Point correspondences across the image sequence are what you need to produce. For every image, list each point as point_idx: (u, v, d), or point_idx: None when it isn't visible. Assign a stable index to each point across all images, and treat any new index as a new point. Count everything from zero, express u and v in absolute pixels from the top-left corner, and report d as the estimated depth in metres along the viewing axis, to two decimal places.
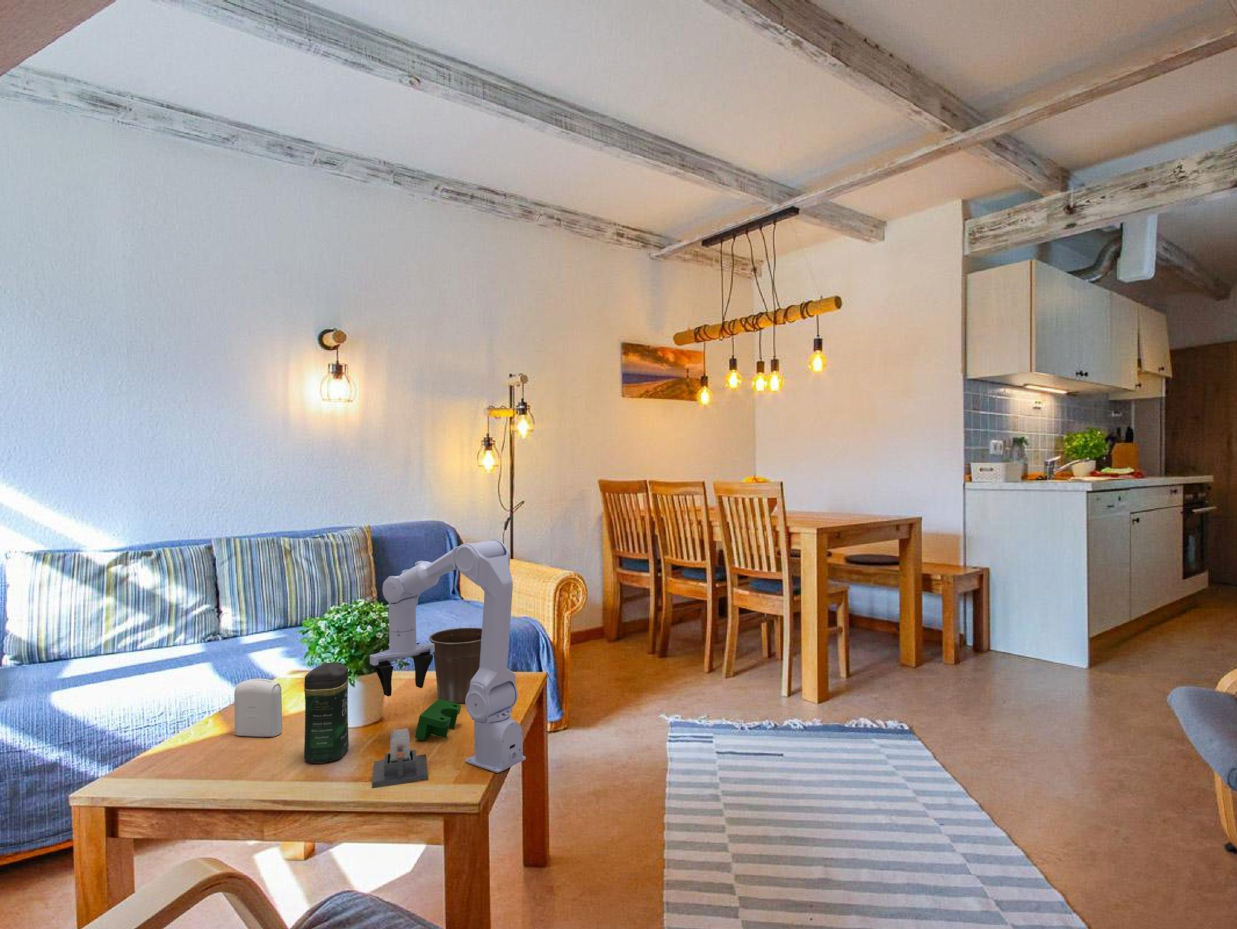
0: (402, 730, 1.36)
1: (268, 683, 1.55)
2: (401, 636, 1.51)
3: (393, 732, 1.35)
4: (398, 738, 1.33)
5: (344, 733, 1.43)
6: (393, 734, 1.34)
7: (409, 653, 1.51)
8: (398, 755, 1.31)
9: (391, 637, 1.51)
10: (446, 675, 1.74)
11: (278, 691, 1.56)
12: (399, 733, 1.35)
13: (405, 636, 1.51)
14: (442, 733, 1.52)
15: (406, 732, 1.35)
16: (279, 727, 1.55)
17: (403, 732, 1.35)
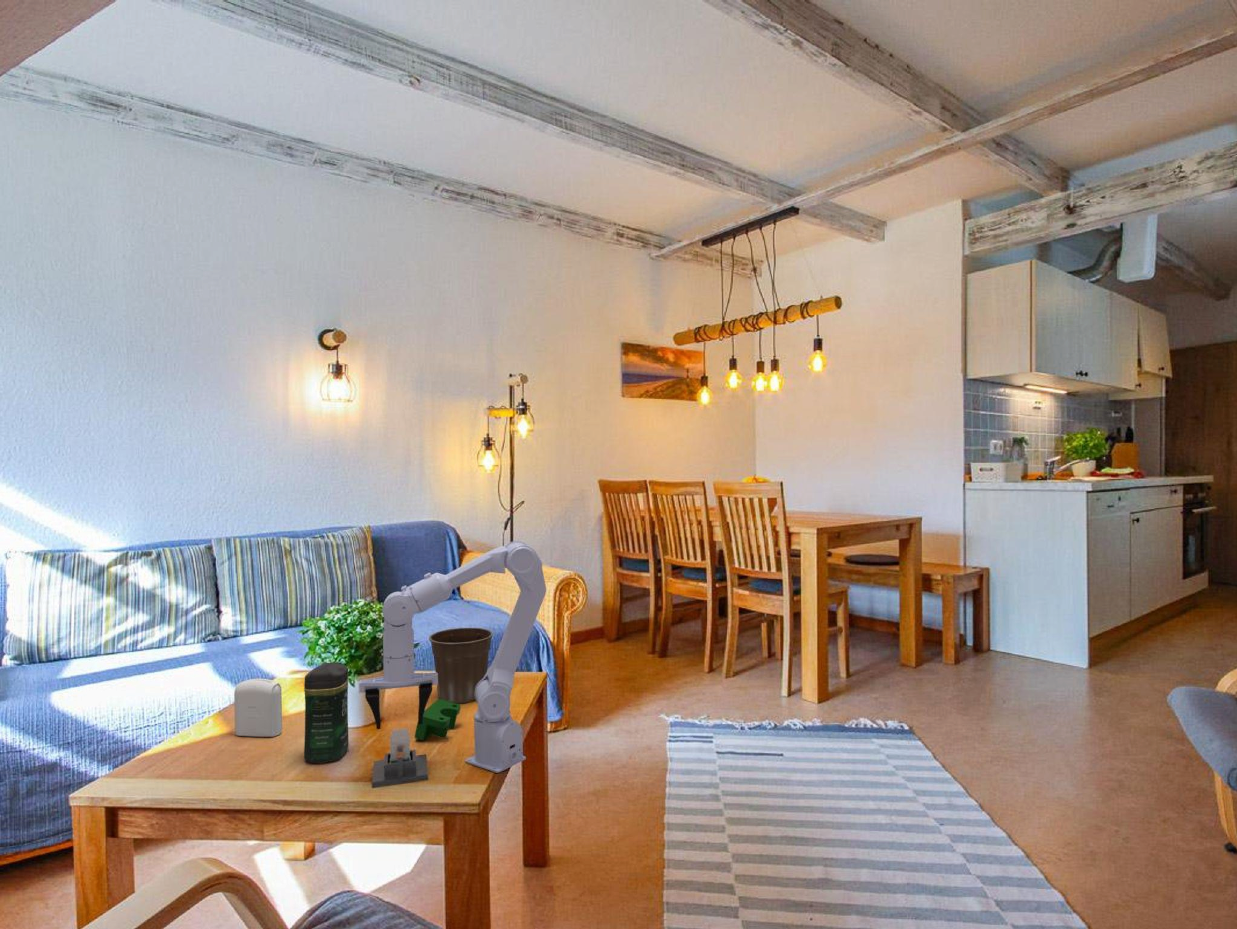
0: (402, 730, 1.36)
1: (268, 683, 1.55)
2: (390, 663, 1.32)
3: (393, 732, 1.35)
4: (398, 738, 1.33)
5: (344, 733, 1.43)
6: (393, 734, 1.34)
7: (398, 684, 1.32)
8: (398, 755, 1.31)
9: (383, 662, 1.34)
10: (446, 675, 1.74)
11: (278, 691, 1.56)
12: (399, 733, 1.35)
13: (394, 664, 1.32)
14: (442, 733, 1.52)
15: (406, 732, 1.35)
16: (279, 727, 1.55)
17: (403, 732, 1.35)
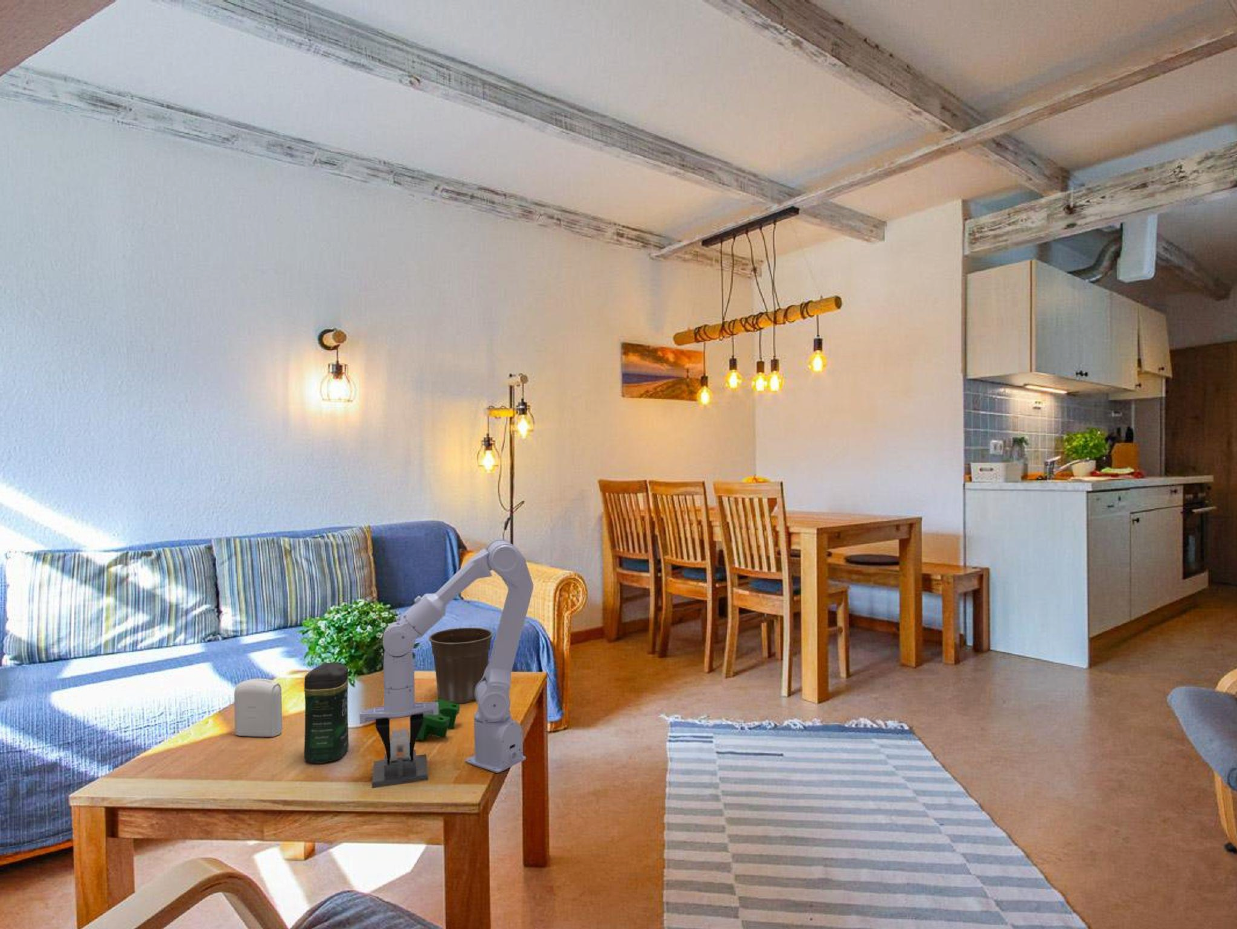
0: (402, 730, 1.36)
1: (268, 683, 1.55)
2: (390, 694, 1.32)
3: (393, 732, 1.35)
4: (398, 738, 1.33)
5: (344, 733, 1.43)
6: (393, 734, 1.34)
7: (399, 714, 1.32)
8: (398, 755, 1.31)
9: (384, 693, 1.34)
10: (446, 675, 1.74)
11: (278, 691, 1.56)
12: (399, 733, 1.35)
13: (394, 694, 1.32)
14: (441, 733, 1.52)
15: (406, 732, 1.35)
16: (279, 727, 1.55)
17: (403, 732, 1.35)
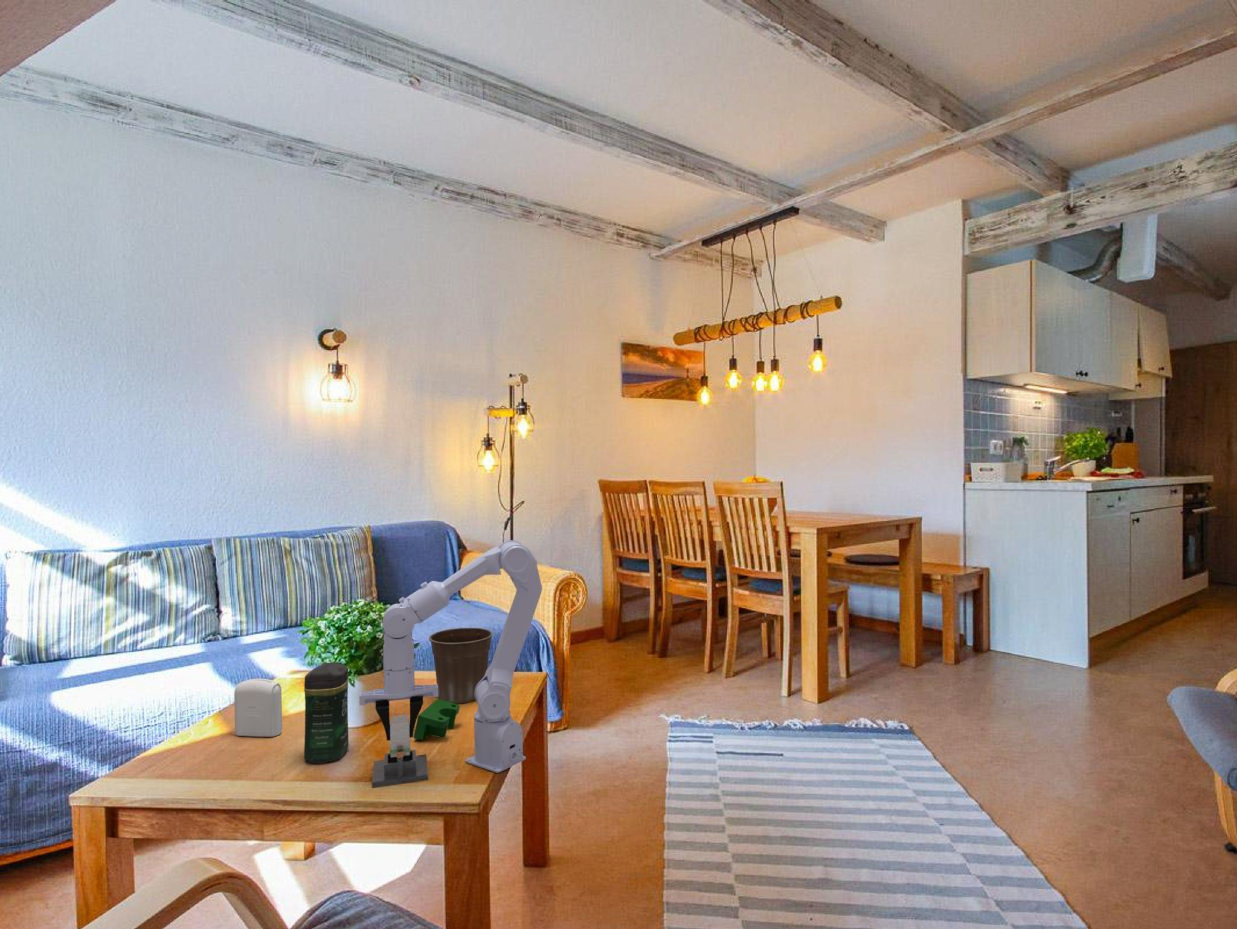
0: (402, 716, 1.36)
1: (268, 683, 1.55)
2: (390, 675, 1.32)
3: (393, 718, 1.35)
4: (398, 723, 1.33)
5: (344, 733, 1.43)
6: (393, 720, 1.34)
7: (398, 696, 1.32)
8: (398, 755, 1.31)
9: None
10: (446, 675, 1.74)
11: (278, 691, 1.56)
12: (399, 719, 1.35)
13: (394, 676, 1.32)
14: (441, 733, 1.52)
15: (406, 718, 1.35)
16: (279, 727, 1.55)
17: (403, 718, 1.35)
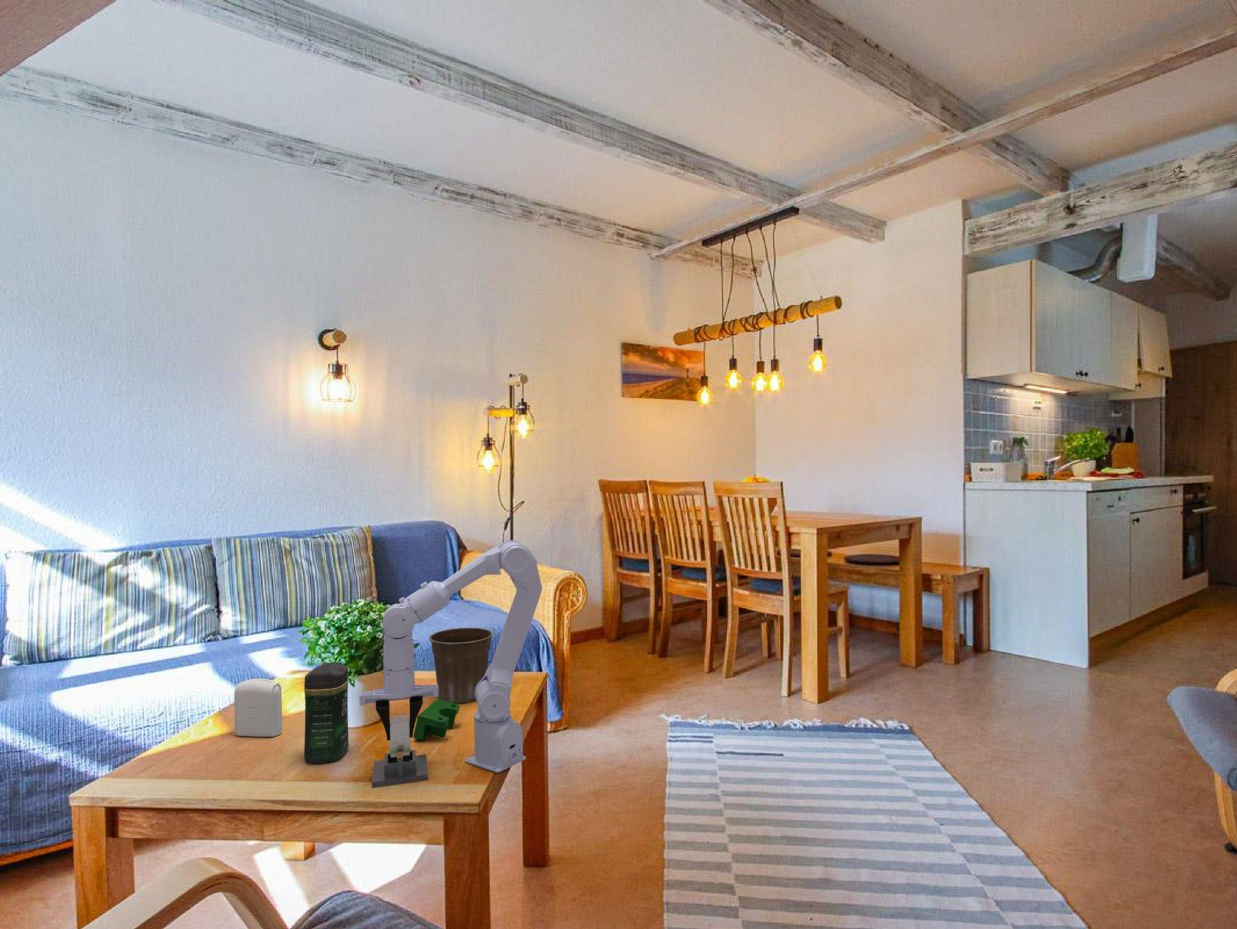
0: (402, 716, 1.36)
1: (268, 683, 1.55)
2: (390, 676, 1.32)
3: (393, 718, 1.35)
4: (398, 724, 1.33)
5: (344, 733, 1.43)
6: (393, 720, 1.34)
7: (398, 696, 1.32)
8: (398, 755, 1.31)
9: None
10: (446, 675, 1.74)
11: (278, 691, 1.56)
12: (399, 719, 1.35)
13: (394, 676, 1.32)
14: (440, 733, 1.52)
15: (406, 718, 1.35)
16: (279, 727, 1.55)
17: (403, 718, 1.35)
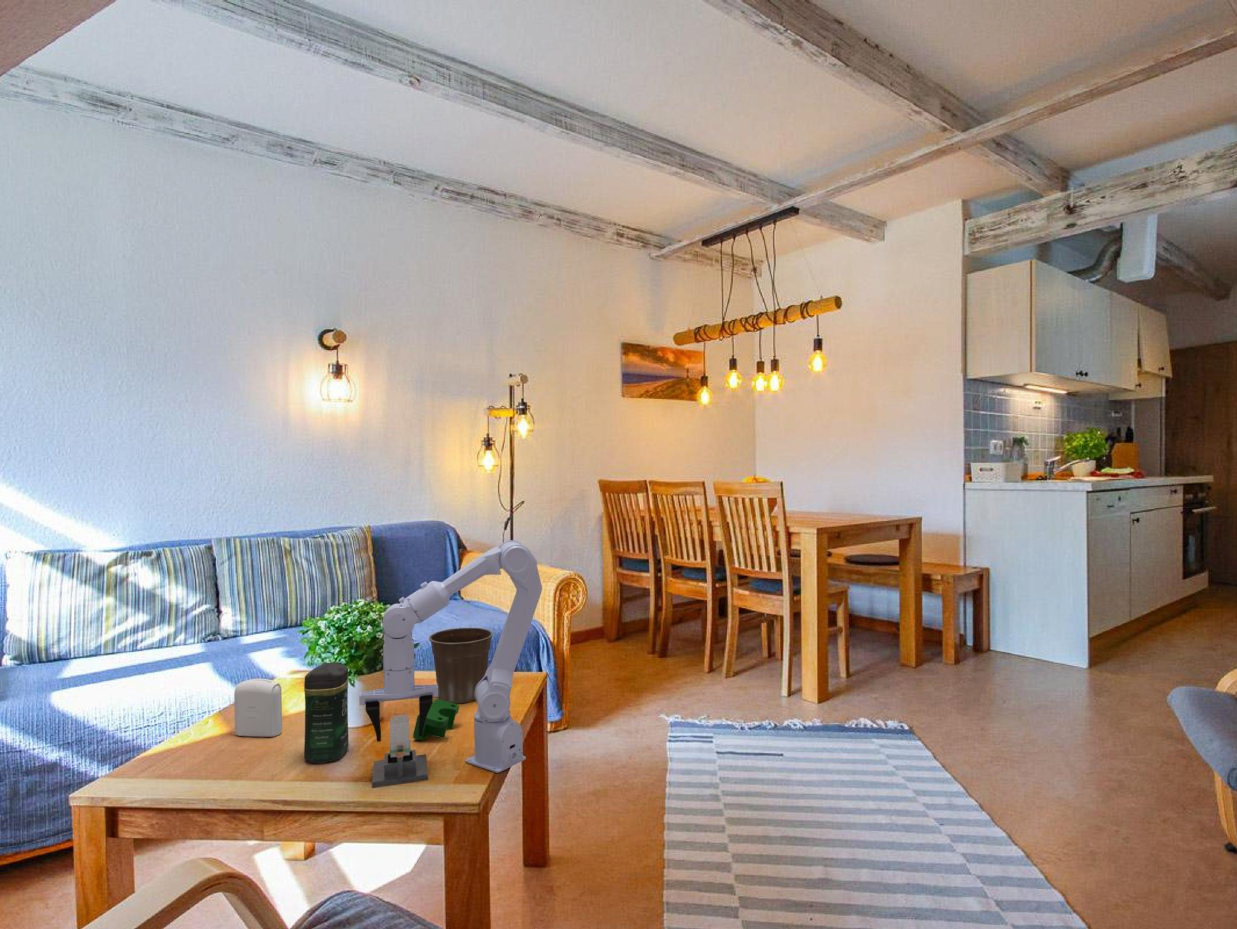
0: (402, 716, 1.36)
1: (268, 683, 1.55)
2: (390, 675, 1.32)
3: (393, 718, 1.35)
4: (398, 723, 1.33)
5: (344, 733, 1.43)
6: (393, 720, 1.34)
7: (398, 696, 1.32)
8: (398, 755, 1.31)
9: None
10: (446, 675, 1.74)
11: (278, 691, 1.56)
12: (399, 719, 1.35)
13: (394, 676, 1.32)
14: (440, 733, 1.52)
15: (406, 718, 1.35)
16: (279, 727, 1.55)
17: (403, 718, 1.35)
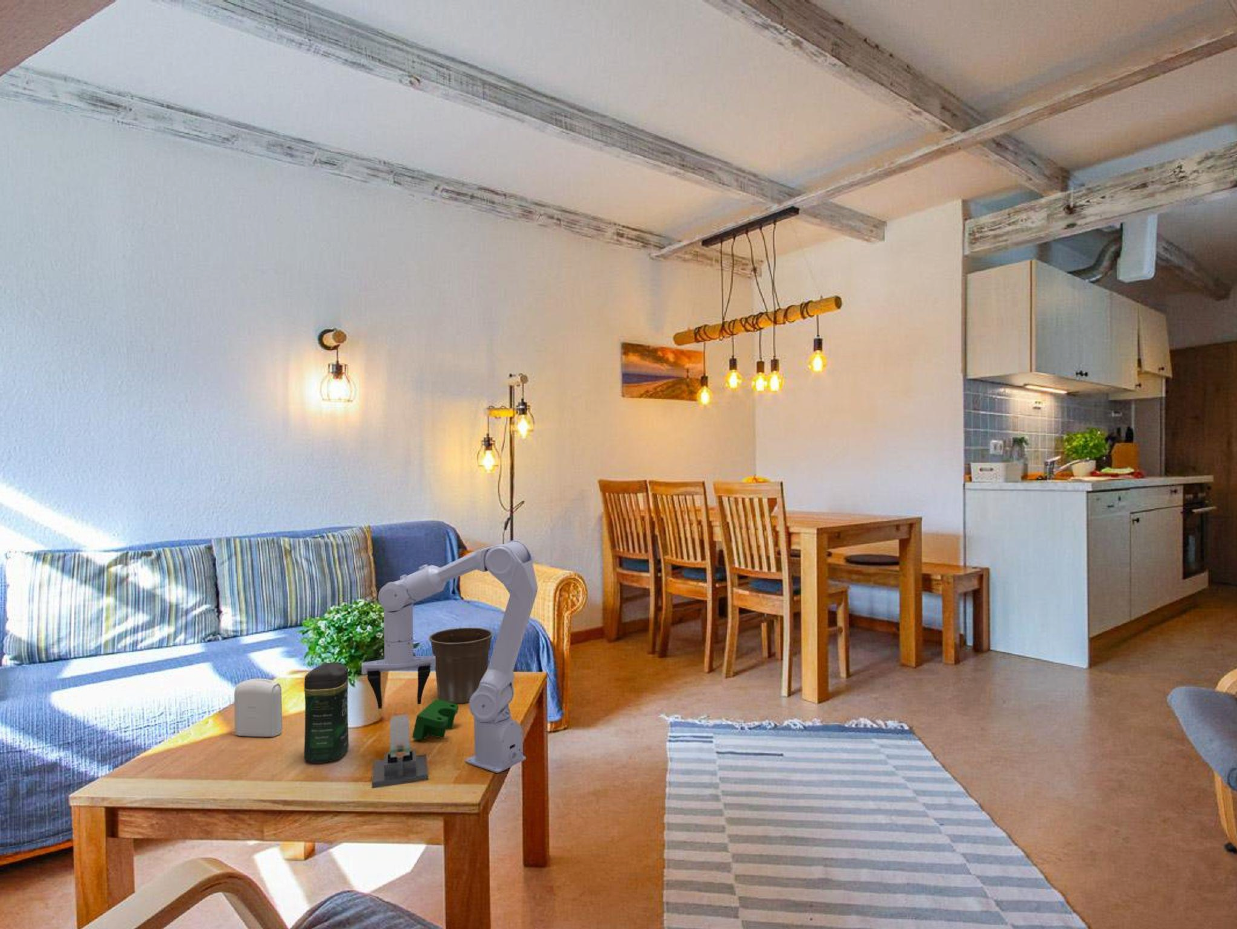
0: (402, 716, 1.36)
1: (268, 683, 1.55)
2: (390, 646, 1.41)
3: (393, 718, 1.35)
4: (398, 723, 1.33)
5: (344, 733, 1.43)
6: (393, 720, 1.34)
7: (398, 666, 1.41)
8: (398, 755, 1.31)
9: (384, 646, 1.42)
10: (446, 675, 1.74)
11: (278, 691, 1.56)
12: (399, 719, 1.35)
13: (394, 647, 1.41)
14: (439, 733, 1.52)
15: (406, 718, 1.35)
16: (279, 727, 1.55)
17: (403, 718, 1.35)
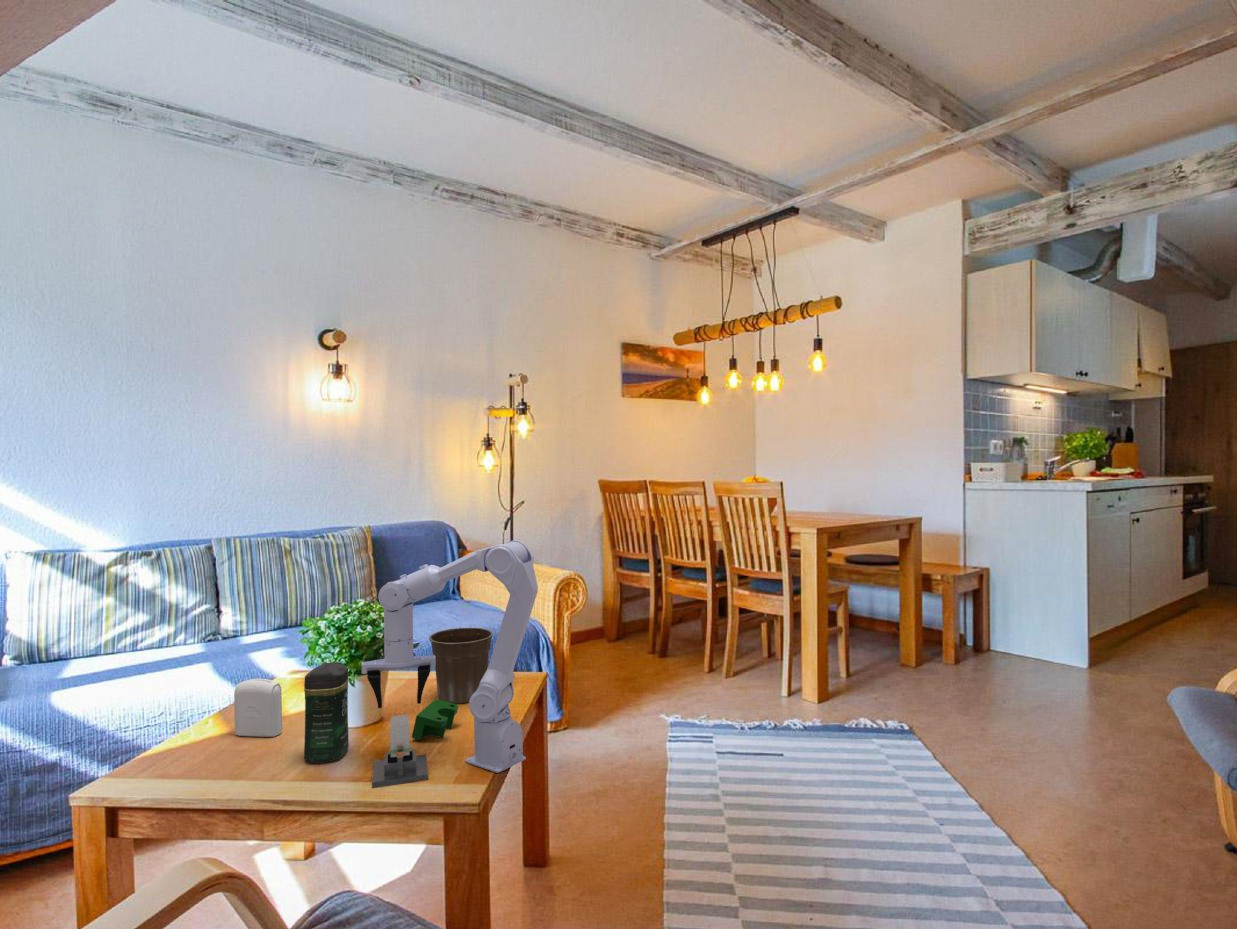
0: (402, 716, 1.36)
1: (268, 683, 1.55)
2: (390, 646, 1.41)
3: (393, 718, 1.35)
4: (398, 723, 1.33)
5: (344, 733, 1.43)
6: (393, 720, 1.34)
7: (398, 665, 1.41)
8: (398, 755, 1.31)
9: (384, 646, 1.42)
10: (446, 675, 1.74)
11: (278, 691, 1.56)
12: (399, 719, 1.35)
13: (394, 646, 1.41)
14: (439, 733, 1.52)
15: (406, 718, 1.35)
16: (279, 727, 1.55)
17: (403, 718, 1.35)
